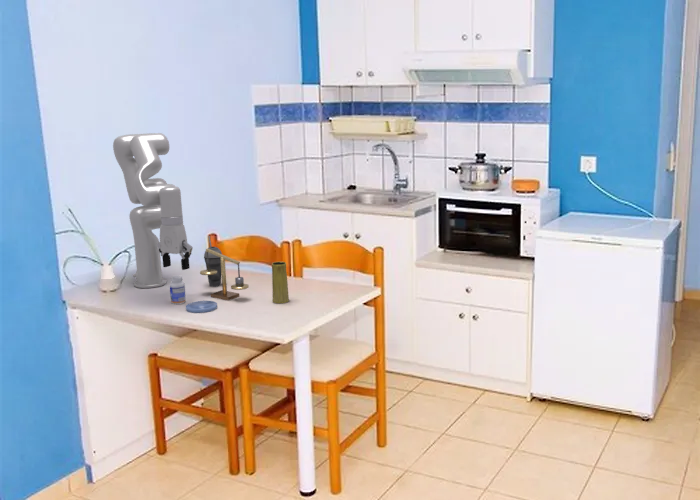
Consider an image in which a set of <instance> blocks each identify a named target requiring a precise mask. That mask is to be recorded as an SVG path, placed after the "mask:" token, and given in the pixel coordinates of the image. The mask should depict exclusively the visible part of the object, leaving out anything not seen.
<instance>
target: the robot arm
mask: <svg viewBox="0 0 700 500" xmlns="http://www.w3.org/2000/svg"><path fill="white" fill-rule="evenodd" d="M112 148H113V155H114V158H115V160H116V162H117V163H118V165H119V167H120V169H121V172H122V174H123V179H124V182H125V188H126V192H127V196H128V198H129V201H130V202H131V203H132V204H134V205H141V206H137V207H134V208H133V209H131V211H130V213H129V215H128V216H129V223H130V225H131V230H132V234H133V242H134V244H133V245H134V253H135V266H136V271H135V272H134V273H133V274H132V277H133V278H135V279H136V280H135V281H134V282H133V286H134V287H136V288H139V289H151V288H152V289H153V288H159V287H161V286H164V285H166V284H167V279H166V278H163V273H162V272H163V271H162V266H163V268H167V267H171V266H172V263H171V262H172V261H171V255H170V254H173V255H178V254H179V256H180V257H181V259H180V263H181V270H182V271H185V270H186V271H187V270H189V269H190V258H191V255H192V251H193V246H192V245H191V244H189V243H188V236H187V232H186V228H185V225H184V217H183V207H182V206H183V205H182V196H181V195H182V194H181V193H182V192H181V189H180V188H179V187H178V186H176V185H174V184H172V183H167V181H166V180H165V179H163V178H159V177H157V178H156V177H155V178H152V177H154V176H155V175H157V174H158V173H160V171H161V170H162V168H163V163H162V160H161V158H160V156H165V155H167V154H168V153H169V152H170V142H169V139H168V137H167V136H166V135H165V134H164V133H163V132H158V133H155V132H152V133H151V132H149V133H134V134H133V133H132V134H123V135H120V136H117V137H116V138H115V139H113V145H112ZM153 230H159V238H158V236H157V235H156V234H155V233H154V232H153ZM161 258H162V259H161Z"/></svg>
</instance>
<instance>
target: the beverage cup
mask: <svg viewBox="0 0 700 500" xmlns="http://www.w3.org/2000/svg"><path fill="white" fill-rule="evenodd" d="M207 236H208V242H209V247H208V248H207V249H211V250H213V251H215V252H218V253H220V254H222V255H223V253H222V251H221V250H220V248H219V247H216V246H212V241H211V236H210V235H207ZM203 259H204V262H205V268H206V270H208V266H207V251H206V250H205V251H204V253H203ZM208 260H209V269H214V270H217V273H216V274H213V275H207V280H208V284H209V287H212V288H217V287H221V286H222V275H221V259H220V257H218V256H216V255H214V254H211V253H209V252H208ZM216 286H217V287H216Z"/></svg>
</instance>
